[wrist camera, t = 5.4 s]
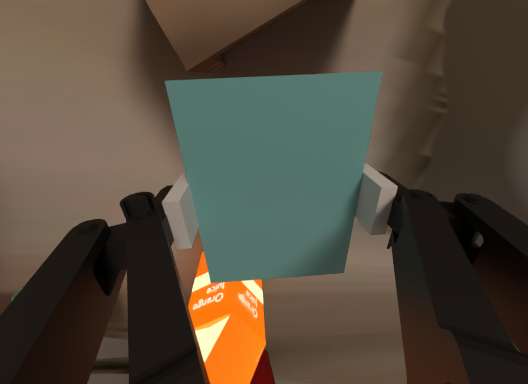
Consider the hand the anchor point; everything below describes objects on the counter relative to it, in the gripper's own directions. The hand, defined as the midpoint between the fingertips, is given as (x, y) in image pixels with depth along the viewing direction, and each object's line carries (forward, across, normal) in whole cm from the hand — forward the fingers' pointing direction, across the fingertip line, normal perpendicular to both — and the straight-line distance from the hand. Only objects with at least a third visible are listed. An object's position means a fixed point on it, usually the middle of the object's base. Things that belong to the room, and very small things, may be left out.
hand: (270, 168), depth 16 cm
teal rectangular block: (0, 0, 0) cm, 0 cm away
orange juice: (+16, -7, -24) cm, 30 cm away
